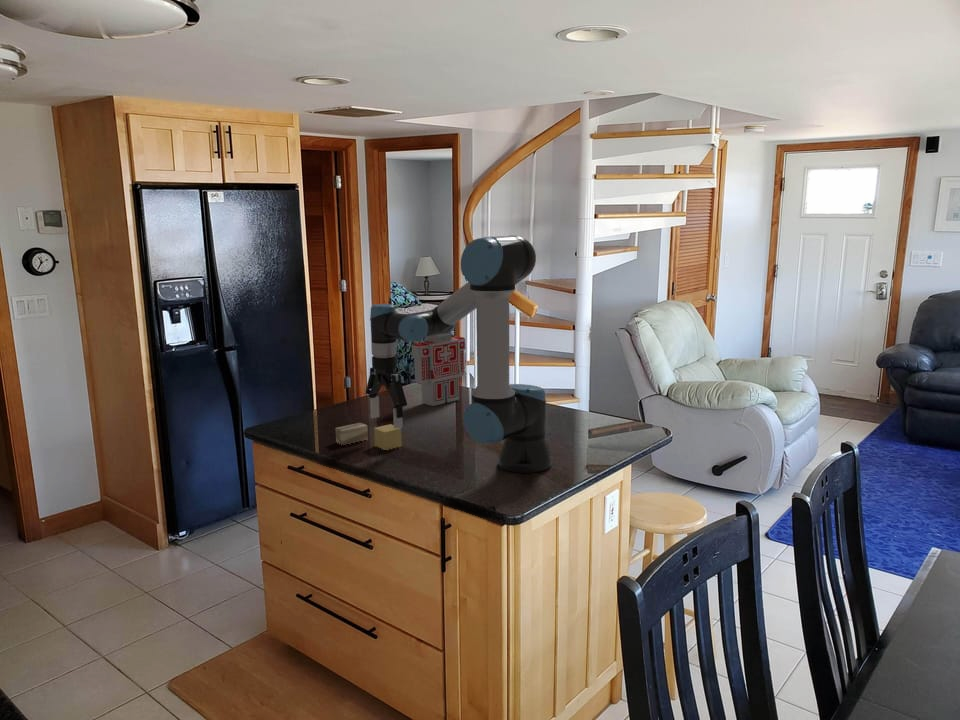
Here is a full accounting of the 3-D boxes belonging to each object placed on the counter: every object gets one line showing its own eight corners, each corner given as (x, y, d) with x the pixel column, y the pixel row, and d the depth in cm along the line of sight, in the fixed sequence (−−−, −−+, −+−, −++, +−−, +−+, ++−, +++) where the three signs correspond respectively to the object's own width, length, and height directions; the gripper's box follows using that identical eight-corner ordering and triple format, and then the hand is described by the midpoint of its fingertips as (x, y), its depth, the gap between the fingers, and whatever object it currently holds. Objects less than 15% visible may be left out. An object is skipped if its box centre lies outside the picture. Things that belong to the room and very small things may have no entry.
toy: (423, 409, 265) (420, 329, 259) (411, 405, 271) (408, 326, 265) (469, 398, 280) (468, 322, 274) (457, 395, 285) (455, 320, 279)
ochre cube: (401, 446, 224) (401, 428, 223) (385, 451, 220) (384, 432, 219) (391, 442, 229) (390, 424, 227) (375, 446, 225) (374, 427, 224)
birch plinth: (368, 440, 231) (367, 425, 230) (343, 446, 226) (342, 431, 225) (361, 437, 234) (360, 422, 233) (336, 443, 229) (335, 428, 228)
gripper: (417, 360, 211) (419, 429, 216) (373, 347, 230) (376, 411, 235) (395, 364, 207) (397, 434, 211) (353, 350, 226) (355, 415, 230)
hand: (386, 422), depth 223 cm, fingers open, 13 cm apart
